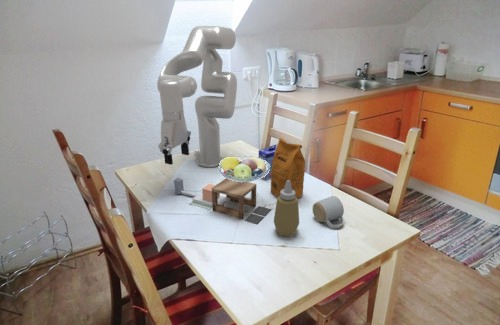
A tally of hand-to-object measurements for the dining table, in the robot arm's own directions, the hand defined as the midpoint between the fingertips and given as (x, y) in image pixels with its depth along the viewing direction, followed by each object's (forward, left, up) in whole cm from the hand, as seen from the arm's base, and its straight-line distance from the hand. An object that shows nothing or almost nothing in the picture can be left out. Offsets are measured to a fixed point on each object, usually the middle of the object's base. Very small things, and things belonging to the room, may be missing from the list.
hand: (177, 159), depth 133 cm
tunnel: (+25, -1, -14) cm, 29 cm away
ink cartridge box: (+24, +31, -14) cm, 42 cm away
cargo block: (+15, -1, -13) cm, 20 cm away
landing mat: (+13, -1, -14) cm, 19 cm away
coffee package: (+37, +18, -14) cm, 44 cm away
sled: (+10, -1, -14) cm, 17 cm away
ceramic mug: (+58, +8, -15) cm, 60 cm away
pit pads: (+35, -1, -14) cm, 37 cm away
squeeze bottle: (+47, -6, -14) cm, 50 cm away
